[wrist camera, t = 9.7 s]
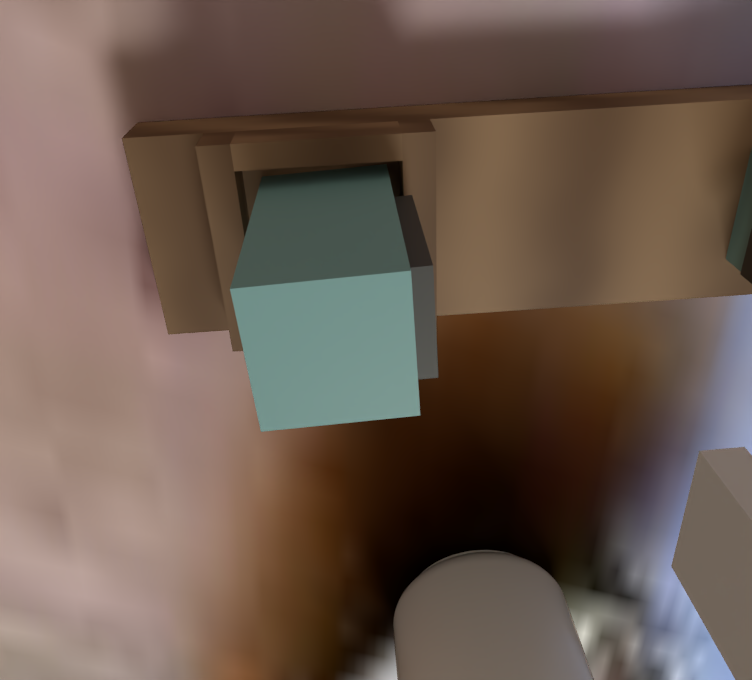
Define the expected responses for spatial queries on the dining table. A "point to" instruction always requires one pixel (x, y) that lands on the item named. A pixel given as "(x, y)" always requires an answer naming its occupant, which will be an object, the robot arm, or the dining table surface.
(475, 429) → the dining table surface
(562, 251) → the rail
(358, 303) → the teal rectangular block
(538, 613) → the grey rounded block
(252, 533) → the dining table surface
